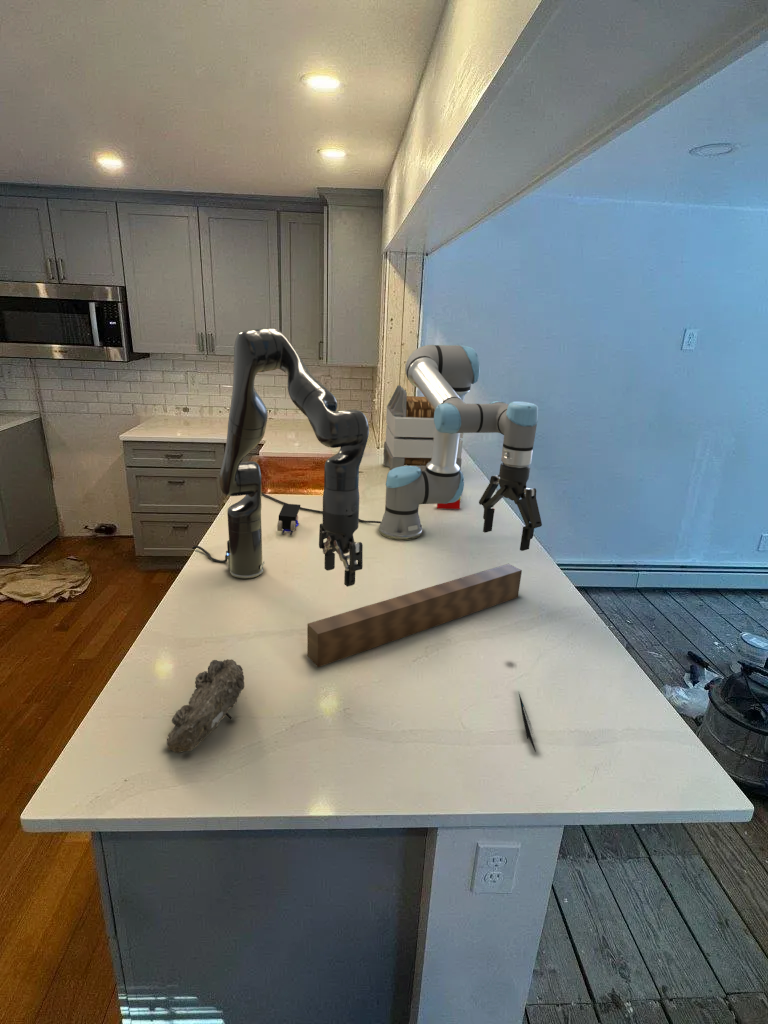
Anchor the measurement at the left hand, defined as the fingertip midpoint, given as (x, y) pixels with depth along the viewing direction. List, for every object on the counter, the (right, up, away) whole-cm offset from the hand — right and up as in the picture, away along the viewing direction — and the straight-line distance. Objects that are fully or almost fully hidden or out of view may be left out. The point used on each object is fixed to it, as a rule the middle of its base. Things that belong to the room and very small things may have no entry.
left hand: (339, 577), depth 123 cm
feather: (+38, -25, -7) cm, 46 cm away
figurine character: (-24, +8, +76) cm, 80 cm away
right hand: (+42, +6, +29) cm, 52 cm away
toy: (+35, +20, +117) cm, 123 cm away
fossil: (-23, -25, -15) cm, 37 cm away
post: (+20, -14, +21) cm, 32 cm away
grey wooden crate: (+27, +33, +152) cm, 158 cm away
